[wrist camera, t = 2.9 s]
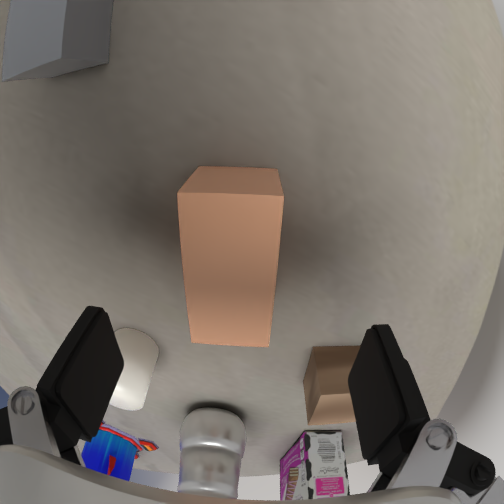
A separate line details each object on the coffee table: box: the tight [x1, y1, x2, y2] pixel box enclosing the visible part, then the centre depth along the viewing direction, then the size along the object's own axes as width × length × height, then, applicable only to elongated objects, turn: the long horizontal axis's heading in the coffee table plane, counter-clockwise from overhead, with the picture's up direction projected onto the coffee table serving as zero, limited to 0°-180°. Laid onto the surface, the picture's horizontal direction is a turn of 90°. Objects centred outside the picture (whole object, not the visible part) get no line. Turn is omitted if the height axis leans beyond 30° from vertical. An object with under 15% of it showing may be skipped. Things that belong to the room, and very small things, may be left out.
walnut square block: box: [303, 345, 361, 425], centre depth 20 cm, size 4×4×4 cm
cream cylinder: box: [109, 328, 159, 410], centre depth 19 cm, size 4×4×5 cm
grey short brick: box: [2, 0, 114, 82], centre depth 8 cm, size 6×4×4 cm, turn 178°
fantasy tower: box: [81, 420, 159, 481], centre depth 28 cm, size 12×12×12 cm
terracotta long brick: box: [177, 166, 284, 347], centre depth 15 cm, size 8×4×4 cm, turn 178°
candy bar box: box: [280, 431, 350, 501], centre depth 24 cm, size 11×5×16 cm, turn 170°
